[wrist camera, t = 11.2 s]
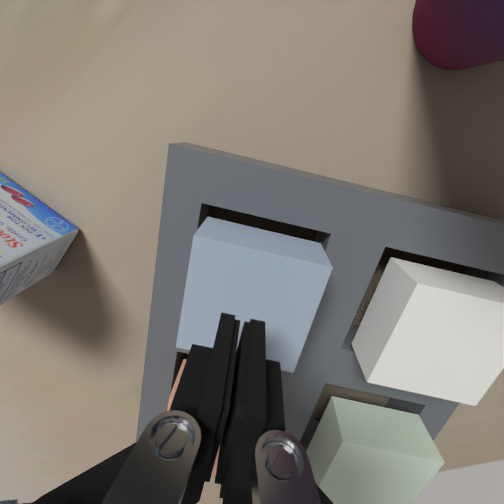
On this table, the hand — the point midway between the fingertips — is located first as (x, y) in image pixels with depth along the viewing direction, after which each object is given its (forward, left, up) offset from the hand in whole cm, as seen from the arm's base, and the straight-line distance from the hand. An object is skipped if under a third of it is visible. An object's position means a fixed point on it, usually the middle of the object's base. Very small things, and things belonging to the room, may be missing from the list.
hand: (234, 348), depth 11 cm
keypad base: (-5, +5, -9) cm, 12 cm away
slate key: (0, 0, -6) cm, 6 cm away
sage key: (-10, +10, -6) cm, 15 cm away
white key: (-10, 0, -6) cm, 12 cm away
